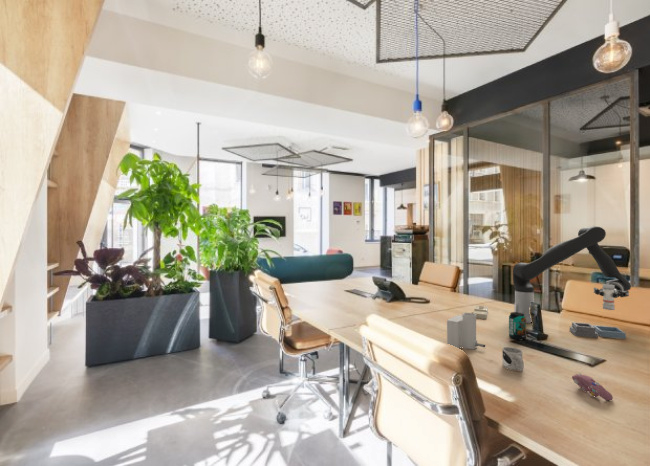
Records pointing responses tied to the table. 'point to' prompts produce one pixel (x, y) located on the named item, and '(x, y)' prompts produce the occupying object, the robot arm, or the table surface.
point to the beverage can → (517, 325)
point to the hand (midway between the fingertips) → (607, 294)
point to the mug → (512, 358)
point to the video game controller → (591, 386)
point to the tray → (609, 332)
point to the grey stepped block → (462, 331)
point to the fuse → (608, 297)
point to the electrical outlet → (481, 312)
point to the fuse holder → (583, 330)
